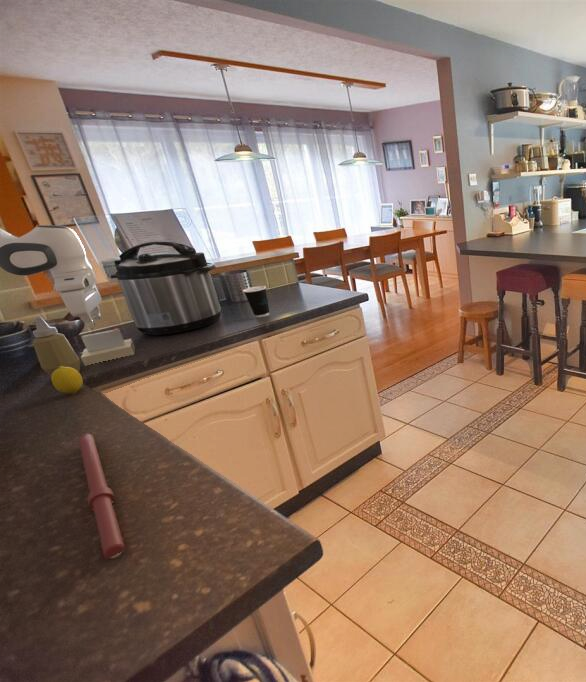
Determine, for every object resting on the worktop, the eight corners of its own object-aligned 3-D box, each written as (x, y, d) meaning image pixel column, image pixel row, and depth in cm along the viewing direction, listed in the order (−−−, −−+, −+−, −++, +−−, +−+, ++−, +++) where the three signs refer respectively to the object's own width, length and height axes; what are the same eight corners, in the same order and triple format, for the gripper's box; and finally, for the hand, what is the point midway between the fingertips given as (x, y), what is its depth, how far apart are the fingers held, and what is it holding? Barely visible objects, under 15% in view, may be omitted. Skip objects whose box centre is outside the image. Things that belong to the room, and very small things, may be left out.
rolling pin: (132, 553, 63) (124, 537, 62) (104, 567, 61) (95, 551, 60) (98, 441, 92) (92, 429, 91) (79, 448, 90) (72, 435, 89)
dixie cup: (270, 317, 169) (262, 289, 165) (248, 320, 168) (239, 292, 164) (275, 311, 177) (268, 285, 173) (254, 314, 175) (246, 287, 171)
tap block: (81, 368, 132) (77, 359, 131) (86, 356, 142) (82, 347, 141) (136, 355, 140) (132, 346, 138) (137, 344, 149) (133, 336, 148)
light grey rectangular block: (88, 352, 137) (80, 336, 135) (89, 350, 138) (82, 334, 136) (124, 344, 141) (117, 329, 139) (125, 342, 143) (119, 327, 141)
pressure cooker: (244, 315, 174) (219, 235, 162) (169, 341, 150) (133, 249, 138) (198, 310, 186) (172, 235, 174) (121, 333, 162) (84, 248, 150)
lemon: (74, 389, 118) (60, 362, 116) (93, 388, 118) (80, 361, 115) (53, 399, 113) (39, 371, 110) (73, 398, 113) (59, 370, 110)
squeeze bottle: (48, 383, 123) (17, 324, 116) (47, 376, 128) (17, 318, 122) (86, 373, 128) (58, 315, 122) (83, 366, 134) (56, 311, 127)
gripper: (71, 276, 138) (89, 317, 143) (51, 287, 122) (72, 333, 127) (97, 272, 141) (114, 313, 146) (81, 283, 125) (100, 328, 130)
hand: (94, 323), depth 136 cm, fingers open, 8 cm apart
